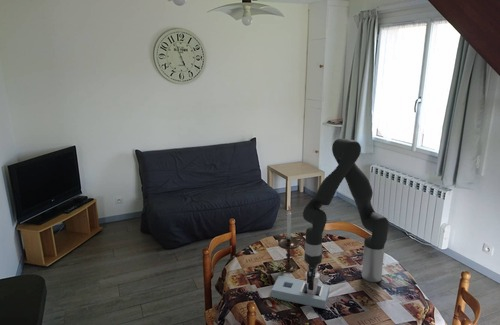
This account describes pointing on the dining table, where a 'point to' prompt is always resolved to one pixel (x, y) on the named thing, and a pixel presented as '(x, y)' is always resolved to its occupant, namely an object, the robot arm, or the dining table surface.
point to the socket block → (299, 292)
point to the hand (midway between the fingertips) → (312, 285)
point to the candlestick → (288, 245)
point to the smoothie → (313, 292)
